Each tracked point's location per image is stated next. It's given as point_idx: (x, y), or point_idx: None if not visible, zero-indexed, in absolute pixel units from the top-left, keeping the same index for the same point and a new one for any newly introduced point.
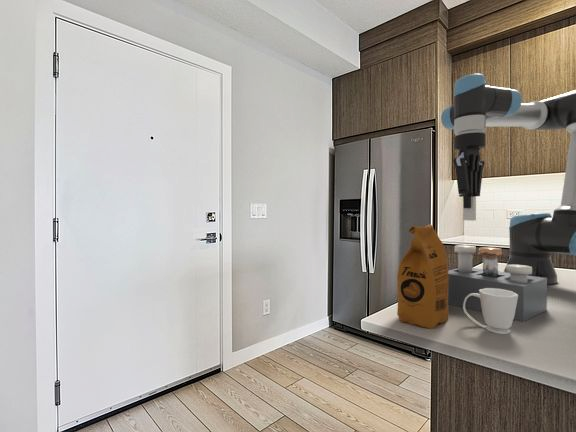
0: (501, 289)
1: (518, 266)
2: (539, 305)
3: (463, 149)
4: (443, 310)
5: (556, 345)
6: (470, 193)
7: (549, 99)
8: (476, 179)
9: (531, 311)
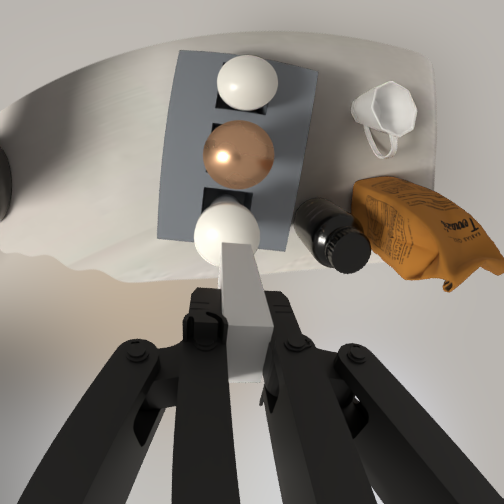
0: (373, 104)
1: (251, 81)
2: None
3: None
4: (402, 179)
5: (368, 51)
6: (313, 349)
7: None
8: (200, 481)
9: None
